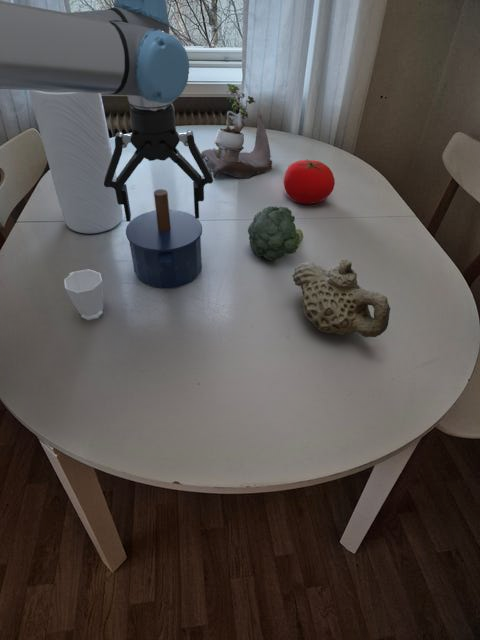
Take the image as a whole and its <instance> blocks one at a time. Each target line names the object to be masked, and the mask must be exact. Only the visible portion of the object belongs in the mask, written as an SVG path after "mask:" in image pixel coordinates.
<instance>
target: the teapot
mask: <svg viewBox="0 0 480 640" xmlns="http://www.w3.org/2000/svg"><path fill="white" fill-rule="evenodd" d="M352 264H353V263H352V261H349V260H348V259H345V258H344V259H340V261H339V265H336V266H334V267H330V268H329V270H327V269H324V268H323V267H322V266H320V265H317V264H315V263H314V262H312V261H306V262H302V263H300V264H299V265H298V266H297V267H295V268H294V272H293V274H292V279H293V280H292V281H293V283H294V285H295V286H297V287H300V288H301V308H302V309H303V313H304V315H305V317H306V318H307V320H309V321H310V322H311V323H312V324H313V326H315V327H316V329H318V330H319V331H320V332H323V333H328V334H329V333H330V334H337V335H342V336H343V335H346V334H349V333H354V332H357V333H359V334H360V335H361V336H362V337H365V338H377V337H378V336H381V335H382V334H383V333H385V331H386V330H387V329H388V326H389V323H390V313H391V307H390V304H389V301H388V298H387V296H386V295H384V294H383V293H382V292H380V291H372V290H367V289H366V288H365V289H364V288H362V287H361V286H360V285H359V284H358V280H357V277H358V274H357V272H356V271H355V270H354V269H353V268H352ZM369 306H371V307H372V308H373V316H372V314H371V312H370V309H369Z"/></svg>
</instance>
